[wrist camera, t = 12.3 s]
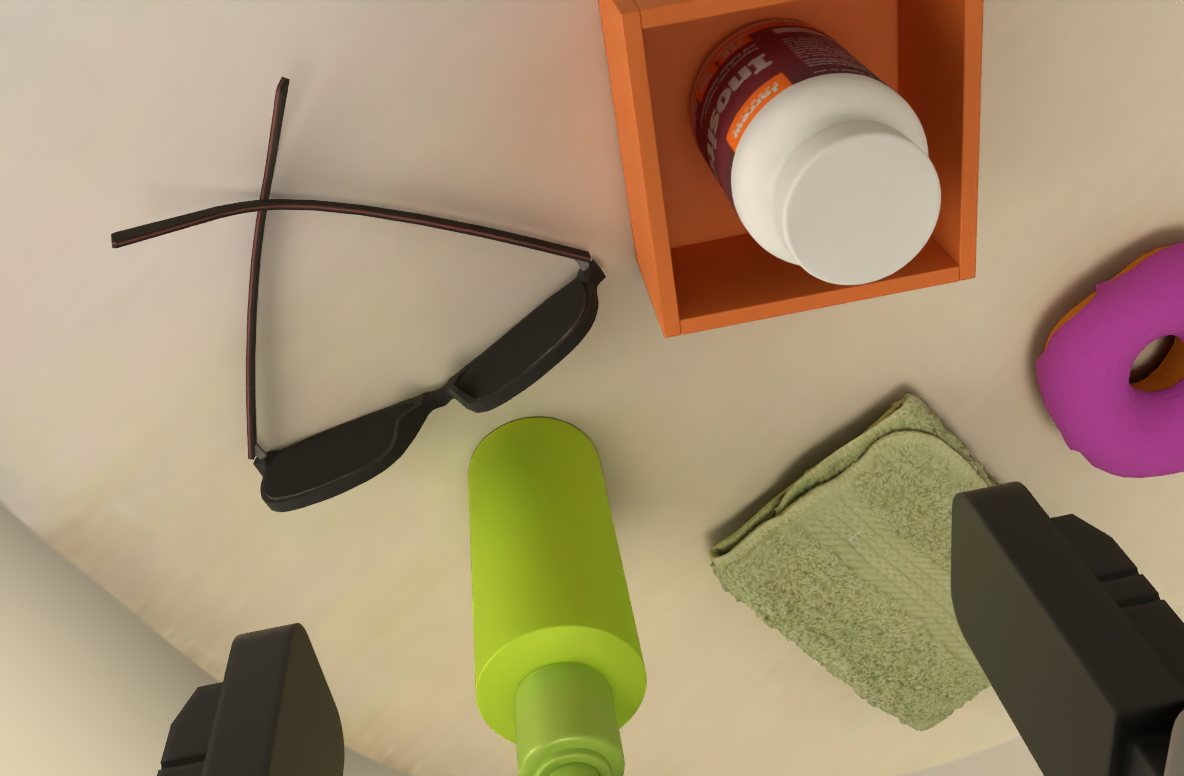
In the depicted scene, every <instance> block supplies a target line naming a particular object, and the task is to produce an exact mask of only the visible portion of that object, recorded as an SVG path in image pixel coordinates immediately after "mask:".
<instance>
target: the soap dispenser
mask: <svg viewBox="0 0 1184 776" xmlns="http://www.w3.org/2000/svg"><path fill="white" fill-rule="evenodd" d="M468 484H469V512H470V541H471V570H472V599H473V628H474V657H475V686H476V701H477V706H478V709H479V711H480V713H481V715H482V717H483V719H484V720H485V722H486V723H487V724H488V725H489V726H490V728H491V729H493V730H494V731H495V732H496V733H497V734H499V735H500V736H502V737H503V738H505V739H507V740H509V741H511V742H513V743H516V745H517V759H518V772H519V776H623V774H624V767H625V762H624V755H623V749H622V743H621V738H620V732H619V729H620V728H621V727H622V726H623V725H624V724H626V723H627V722H628V721H629V720H630V719H631V717H632V716H633V715H634V714H635V712H636V711H637V710H638V708H639V706H640V704H641V702H642V700H643V698H644V695H645V691H646V683H647V679H646V671H645V666H644V661H643V657H642V652H641V648H640V643H639V638H638V634H637V629H636V625H635V620H634V616H633V611H632V606H631V602H630V597H629V593H628V588H627V583H626V579H625V574H624V570H623V565H622V560H621V556H620V551H619V547H618V542H617V538H616V533H615V528H614V524H613V519H612V515H611V510H610V505H609V501H608V496H607V492H606V487H605V482H604V478H603V473H602V469H601V464H600V460H599V456H598V453H597V451H596V449H595V447H594V445H593V444H592V442H591V441H590V440H589V438H588V437H587V436H586V435H585V434H584V433H582V432H581V431H580V430H578V429H577V428H575V427H574V426H572V425H570V424H568V423H565V422H563V421H559V420H556V419H551V418H541V417H535V418H525V419H520V420H516V421H513V422H510V423H507V424H505V425H503V426H501V427H499V428H497V429H496V430H494V431H493V432H492V433H490V434H489V435H488V436H487V437H486V438H485V439H484V440H483V441H482V442H481V443H480V444H479V446H478V447H477V449H476V450H475V452H474V454H473V456H472V458H471V461H470V465H469V471H468Z"/></svg>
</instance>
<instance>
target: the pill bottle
mask: <svg viewBox="0 0 1184 776" xmlns="http://www.w3.org/2000/svg"><path fill="white" fill-rule="evenodd" d="M690 118H691V125H692V131H693V134H694V138H695V140H696V143H697V146H698V148H699V150H700V152H701V154H702V156H703V157H704V159H705V161H706V162H707V164H708V166H709V167H710V169H711V171H712V172H713V174H714V176H715V177H716V179H717V181H718V182H719V184H720V186H721V187H722V189H723V191H724V193H725V194H726V196H727V198H728V200H729V201H730V203H731V205H732V206H733V208H734V210H735V211H736V213H737V215H738V217H739V219H740V220H741V222H742V224H743V225H744V226H745V228H746V229H747V231H748V232H749V234H750V235H751V236H752V237H753V238H754V240H755V241H756V242H757V243H758V244H759V245H760V246H761V247H763V248H764V249H765V250H766V251H768V252H769V253H771V254H773V255H774V256H776V257H778V258H780V259H782V260H784V261H787V262H790V263H793V264H796V265H800V266H801V267H802V268H803V269H804V270H806V271H807V272H808V273H810V274H811V275H813V276H814V277H816V278H818V279H821V280H823V281H826V282H829V283H833V284H839V285H859V284H866V283H870V282H874V281H877V280H880V279H882V278H884V277H886V276H889V275H891V274H893V273H894V272H896V271H898V270H899V269H901V268H902V267H903V266H905V265H906V264H907V263H908V262H910V261H911V260H912V259H913V258H914V257H915V256H916V255H917V254H918V253H919V252H920V250H921V249H922V248H923V247H924V245H925V244H926V242H927V241H928V239H929V237H930V236H931V234H932V232H933V230H934V228H935V225H936V222H937V219H938V216H939V211H940V205H941V188H940V183H939V178H938V175H937V172H936V170H935V168H934V166H933V164H932V162H931V161H930V159H929V157H928V146H927V140H926V137H925V133H924V130H923V127H922V125H921V123H920V121H919V119H918V117H917V115H916V114H915V112H914V111H913V109H912V108H911V107H910V105H909V104H908V103H907V102H906V101H905V100H904V99H903V98H902V97H901V96H900V95H899V94H898V93H897V92H896V91H894V90H893V89H892V88H891V87H889V86H888V85H887V84H886V83H884V82H883V81H882V80H881V79H880V78H878V77H877V76H876V75H875V74H874V73H872V72H871V71H870V70H869V69H867V68H866V67H865V66H864V65H863V64H862V63H860V62H859V61H858V60H857V59H856V58H854V57H853V56H852V55H851V54H850V53H849V52H847V51H846V50H845V49H844V48H843V47H842V46H840V45H839V44H838V43H837V42H836V41H835V40H833V39H832V38H831V37H830V36H828V35H827V34H825V33H824V32H822V31H820V30H819V29H817V28H815V27H813V26H811V25H808V24H805V23H802V22H798V21H794V20H782V19H780V20H768V21H762V22H759V23H755V24H752V25H750V26H747V27H745V28H743V29H741V30H739V31H737V32H736V33H734V34H732V35H731V36H729V37H728V38H727V39H725V40H724V41H723V42H722V43H721V44H720V45H719V46H718V47H717V48H715V49H714V51H713V52H712V53H711V54H710V55H709V57H708V58H707V60H706V61H705V63H704V64H703V66H702V68H701V70H700V72H699V74H698V76H697V79H696V81H695V84H694V88H693V91H692V96H691V103H690Z"/></svg>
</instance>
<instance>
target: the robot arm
mask: <svg viewBox="0 0 1184 776" xmlns="http://www.w3.org/2000/svg"><path fill="white" fill-rule="evenodd" d="M951 597H952V603H953V608H954V612H955V616H956V619H957V622H958V625H959V627H960V630H961V632H962V634H963V636H964V638H965V640H966V642H967V644H968V645H969V647H970V649H971V651H972V652H973V654H974V656H975V657H976V659H977V661H978V663H979V664H980V666H981V668H982V670H983V671H984V673H985V675H986V676H987V678H988V680H989V682H990V683H991V685H992V687H993V688H994V690H995V692H996V694H997V695H998V697H999V699H1000V701H1001V702H1002V704H1003V706H1004V707H1005V709H1006V711H1007V713H1008V714H1009V716H1010V718H1011V719H1012V721H1013V723H1014V725H1015V726H1016V728H1017V730H1018V732H1019V733H1020V735H1021V737H1022V738H1023V740H1024V742H1025V744H1026V745H1027V747H1028V749H1029V750H1030V752H1031V754H1032V755H1033V757H1034V759H1035V761H1036V762H1037V764H1038V766H1039V768H1040V769H1041V771H1042V773H1043V774H1044V776H1184V623H1183V622H1182V620H1181V619H1180V618H1179V617H1178V616H1177V615H1176V613H1175V612H1174V611H1173V610H1172V609H1171V607H1170V606H1169V605H1168V604H1167V603H1166V601H1165V600H1160V598H1159V593H1158V592H1157V591H1156V590H1155V588H1154V587H1153V586H1152V585H1151V584H1150V582H1149V581H1148V580H1147V579H1146V578H1145V576H1144V575H1143V574H1141V575H1139V573H1138V569H1137V567H1136V566H1135V564H1134V563H1133V562H1132V561H1131V560H1130V559H1129V557H1128V556H1127V555H1126V554H1125V553H1124V551H1123V550H1122V549H1121V548H1120V547H1119V545H1118V544H1117V543H1116V542H1115V541H1114V539H1113V538H1112V537H1110V536H1109V535H1107V534H1105V533H1104V532H1102V531H1100V530H1099V529H1097V528H1095V527H1094V526H1092V525H1090V524H1089V523H1087V522H1085V521H1083V520H1082V519H1080V518H1078V517H1077V516H1075V515H1073V514H1069V515H1064V516H1059V517H1054V518H1050V517H1049V516H1048V515H1047V514H1046V512H1045V511H1044V510H1043V509H1042V507H1041V506H1040V505H1039V503H1038V502H1037V501H1036V500H1035V498H1034V497H1033V496H1032V494H1031V493H1030V492H1029V491H1028V489H1027V488H1026V487H1025V486H1024V485H1023V484H1021V483H1020V482H1010V483H1005V484H1000V485H995V486H990V487H985V488H980V489H975V490H970V491H965V492H960V493H957V494H956V495H955V496H954V498H953V502H952V525H951ZM161 766H162V768H161V770H159V771H158V774H157V776H343V769H344V740H343V732H342V726H341V721H340V717H339V713H338V710H337V707H336V705H335V702H334V700H333V697H332V695H331V692H330V690H329V687H328V685H327V682H326V680H325V677H324V675H323V672H322V670H321V667H320V664H319V662H318V659H317V657H316V654H315V652H314V649H313V647H312V644H311V642H310V639H309V637H308V635H307V632H306V630H305V629H304V627H303V626H302V625H301V624H300V623H295V624H290V625H285V626H280V627H275V628H270V629H265V630H260V631H255V632H250V633H245V634H240V635H238V636H236V637H235V639H234V641H233V643H232V646H231V651H230V655H229V659H228V663H227V668H226V672H225V676H224V681H223V682H221V683H216V684H211V685H206V686H201V687H198V688H197V689H196V691H195V692H194V694H193V695H192V696H191V698H190V699H189V700H188V702H187V703H186V704H185V706H184V707H183V709H182V710H181V712H180V713H179V714H178V716H177V717H176V719H175V720H174V721H173V723H172V724H171V727H170V731H169V734H168V738H167V742H166V745H165V749H164V752H163V756H162V760H161Z"/></svg>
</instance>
